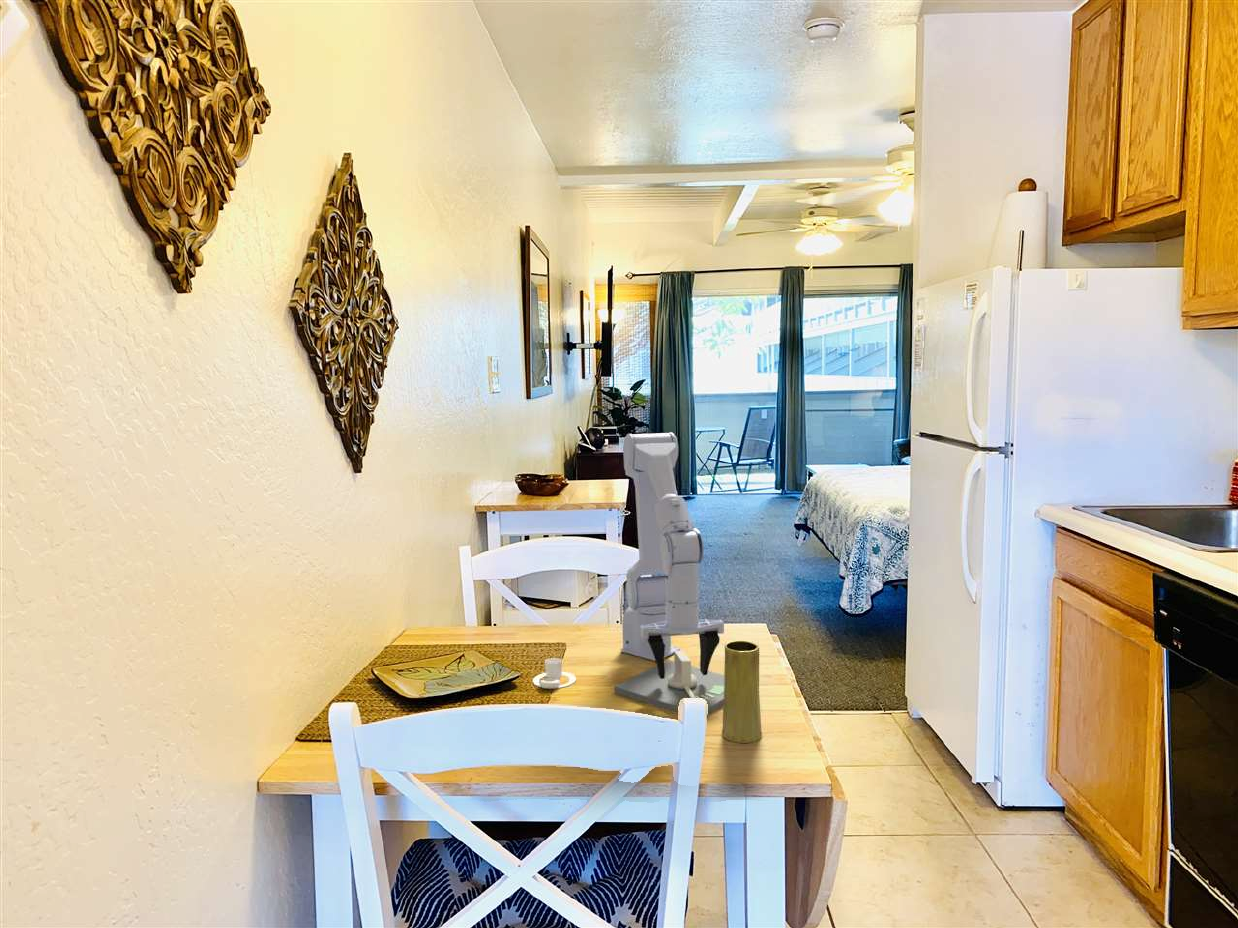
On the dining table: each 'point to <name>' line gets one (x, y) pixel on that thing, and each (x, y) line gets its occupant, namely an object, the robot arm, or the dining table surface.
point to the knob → (682, 673)
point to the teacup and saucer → (553, 675)
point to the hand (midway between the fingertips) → (682, 674)
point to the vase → (741, 692)
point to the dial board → (667, 697)
